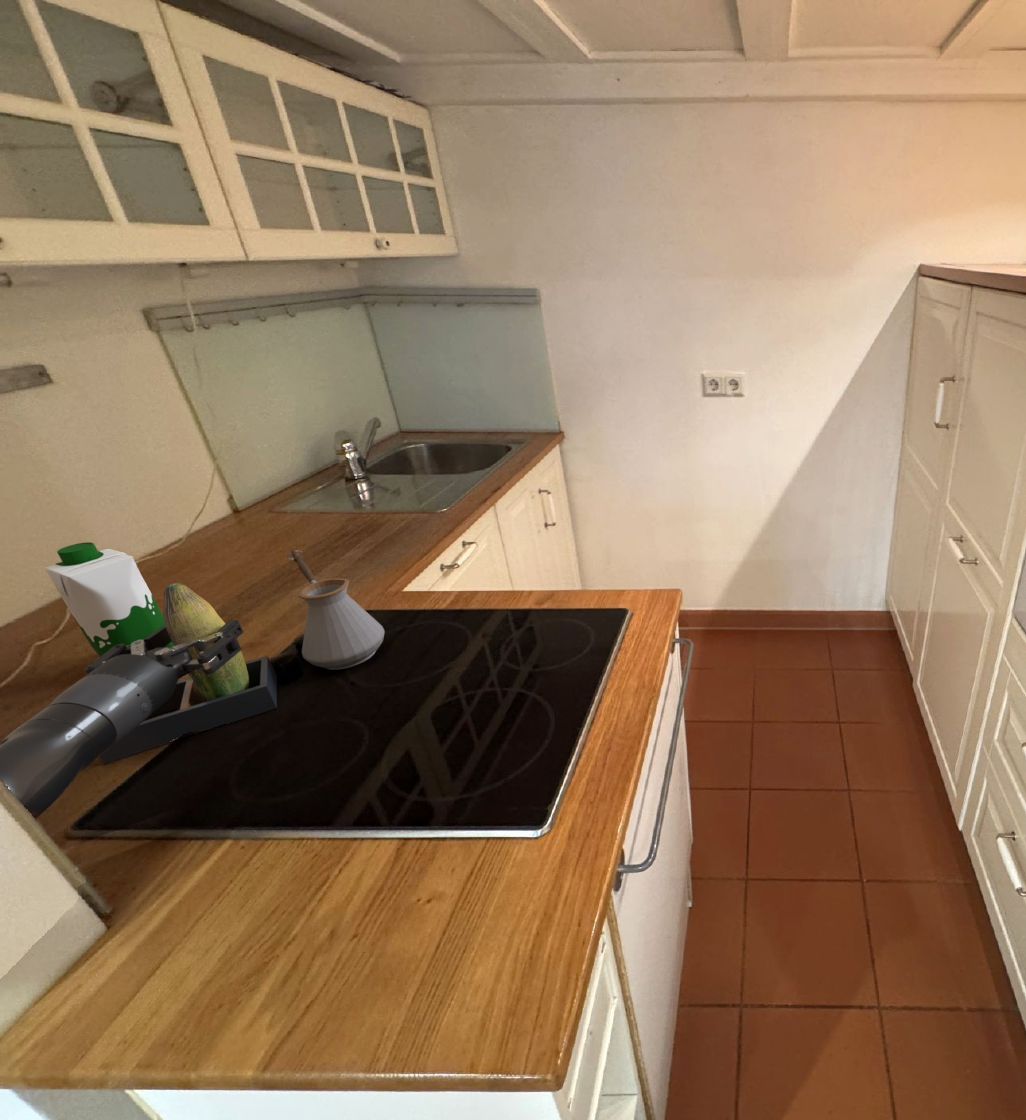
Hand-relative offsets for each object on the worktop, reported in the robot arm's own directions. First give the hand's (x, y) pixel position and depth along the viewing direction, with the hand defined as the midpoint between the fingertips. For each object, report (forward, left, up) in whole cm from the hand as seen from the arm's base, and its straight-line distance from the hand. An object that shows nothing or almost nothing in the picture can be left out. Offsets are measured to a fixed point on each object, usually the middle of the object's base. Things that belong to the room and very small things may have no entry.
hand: (203, 628), depth 85 cm
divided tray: (-5, -1, -13) cm, 14 cm away
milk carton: (-14, +24, -13) cm, 31 cm away
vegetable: (0, -1, -13) cm, 13 cm away
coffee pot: (+13, +8, -13) cm, 20 cm away
